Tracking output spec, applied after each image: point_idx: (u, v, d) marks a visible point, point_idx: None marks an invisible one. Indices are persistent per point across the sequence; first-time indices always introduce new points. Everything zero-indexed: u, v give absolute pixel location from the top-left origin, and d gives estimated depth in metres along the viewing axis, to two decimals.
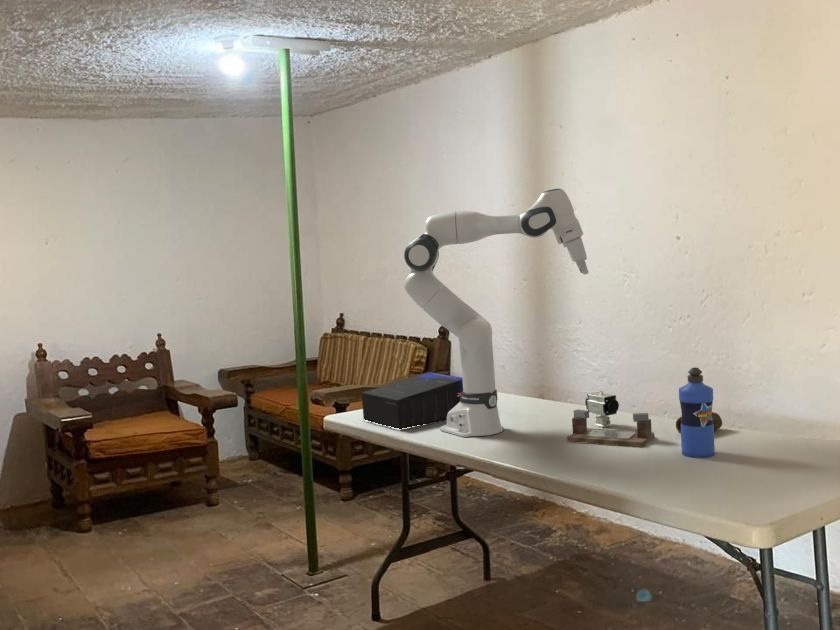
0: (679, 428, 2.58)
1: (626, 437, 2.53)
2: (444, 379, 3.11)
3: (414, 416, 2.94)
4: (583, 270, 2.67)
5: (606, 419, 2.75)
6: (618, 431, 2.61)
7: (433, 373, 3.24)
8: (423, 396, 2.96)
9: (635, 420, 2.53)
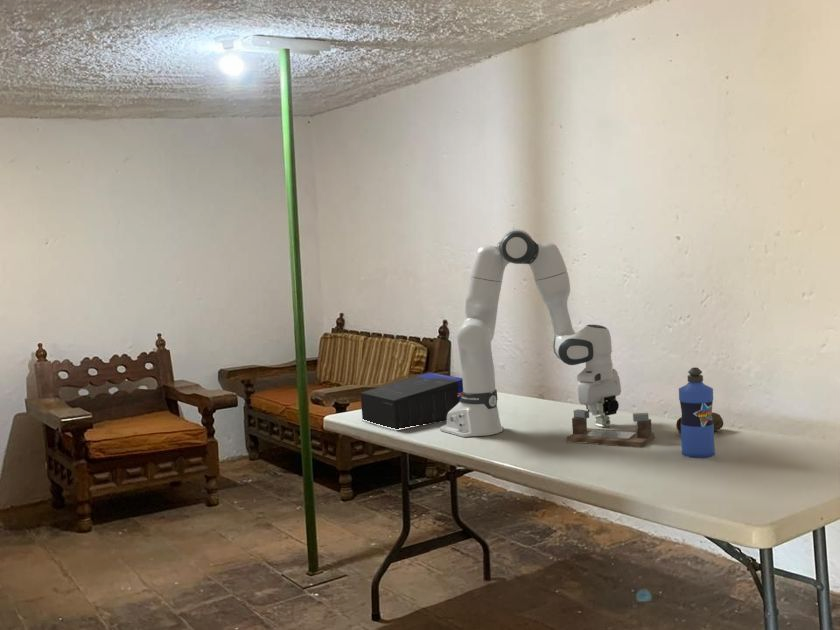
0: (680, 428, 2.57)
1: (626, 437, 2.53)
2: (443, 379, 3.10)
3: (412, 417, 2.94)
4: (592, 411, 2.74)
5: (606, 419, 2.75)
6: (618, 431, 2.61)
7: (433, 373, 3.23)
8: (420, 396, 2.96)
9: (635, 420, 2.53)
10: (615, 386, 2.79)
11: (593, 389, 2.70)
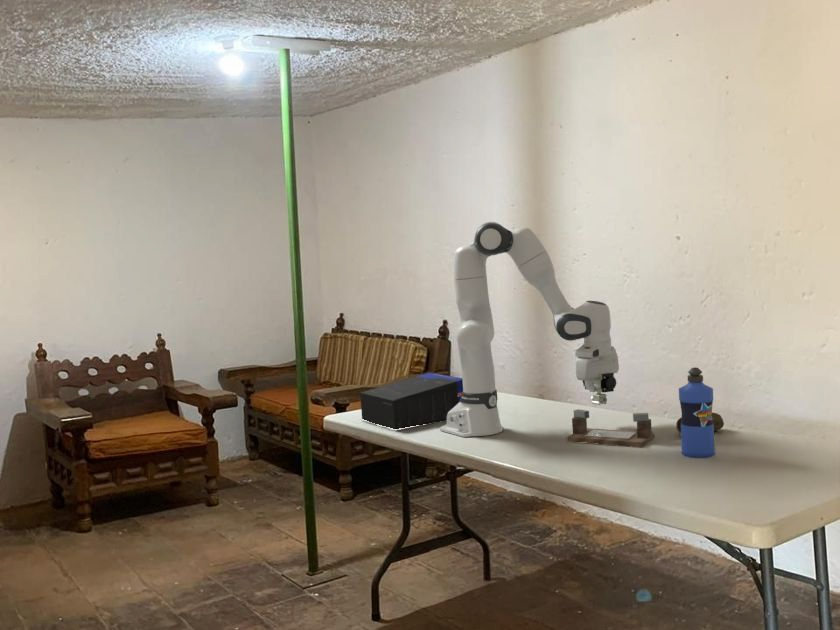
0: (680, 428, 2.57)
1: (626, 437, 2.53)
2: (443, 380, 3.10)
3: (411, 417, 2.94)
4: (590, 387, 2.73)
5: (603, 396, 2.74)
6: (618, 431, 2.61)
7: (433, 373, 3.23)
8: (420, 397, 2.96)
9: (635, 420, 2.53)
10: (613, 363, 2.78)
11: (591, 365, 2.69)
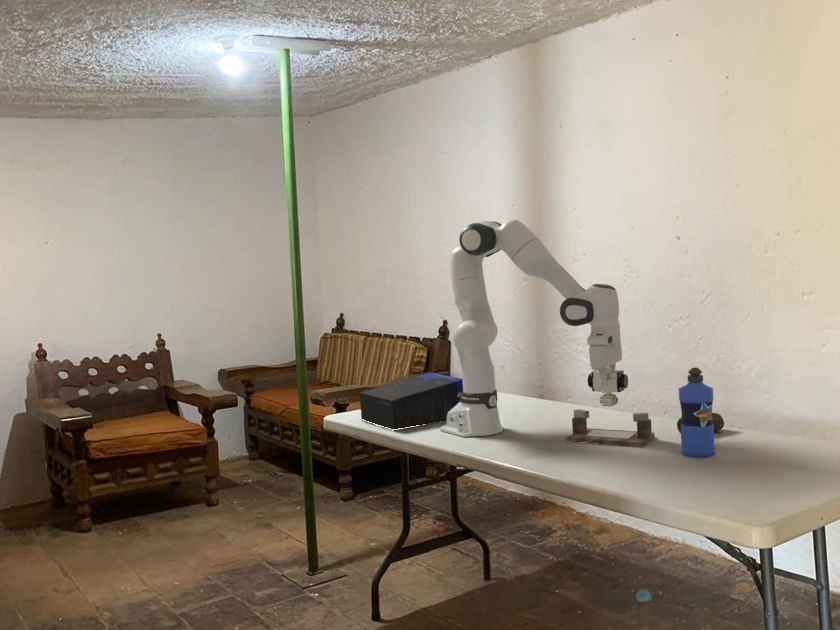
0: (680, 428, 2.57)
1: (626, 437, 2.53)
2: (442, 380, 3.10)
3: (410, 417, 2.94)
4: (602, 377, 2.54)
5: (615, 397, 2.57)
6: (618, 431, 2.61)
7: (433, 373, 3.23)
8: (419, 397, 2.95)
9: (635, 420, 2.53)
10: (618, 350, 2.61)
11: (605, 353, 2.51)
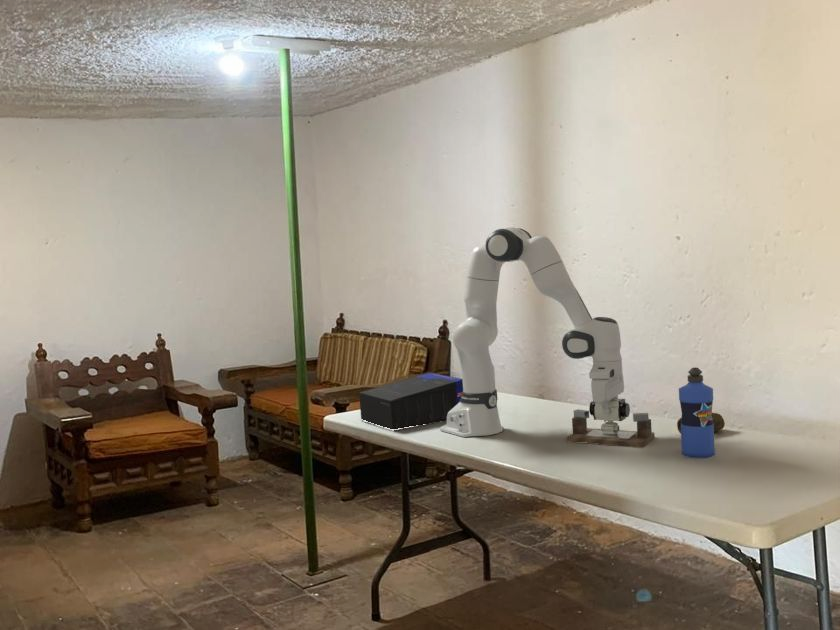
0: (680, 428, 2.57)
1: (626, 437, 2.53)
2: (442, 380, 3.09)
3: (408, 417, 2.94)
4: (604, 410, 2.55)
5: (616, 425, 2.58)
6: None
7: (433, 374, 3.23)
8: (418, 397, 2.95)
9: (635, 420, 2.53)
10: (620, 383, 2.62)
11: (607, 386, 2.51)
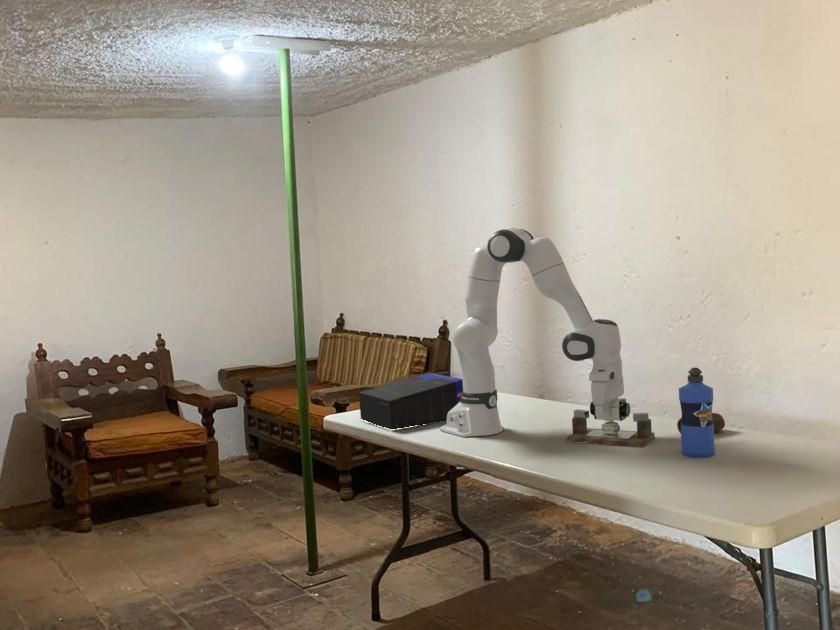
0: (680, 429, 2.57)
1: (626, 437, 2.53)
2: (441, 380, 3.09)
3: (408, 417, 2.94)
4: (604, 412, 2.55)
5: (617, 425, 2.58)
6: None
7: (433, 374, 3.22)
8: (417, 397, 2.95)
9: (635, 420, 2.53)
10: (620, 385, 2.62)
11: (606, 389, 2.51)
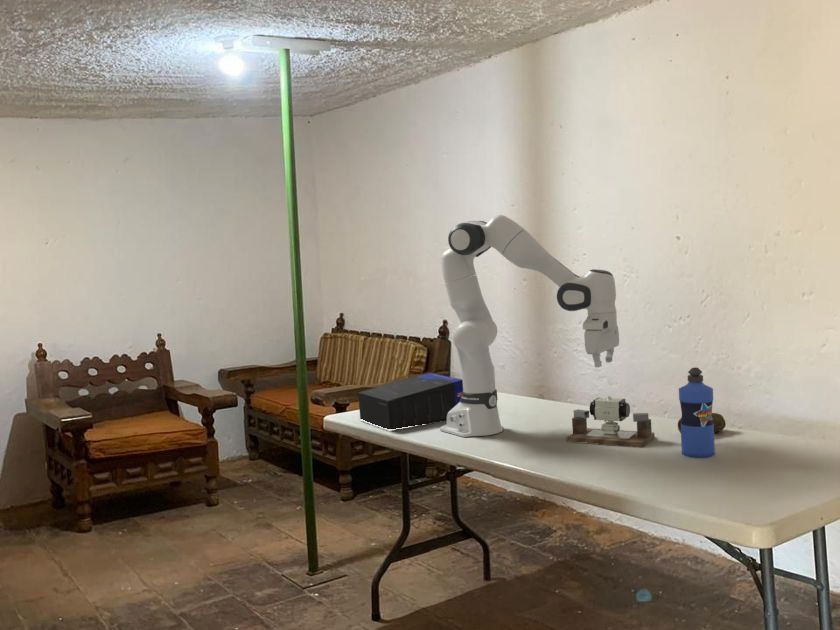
0: None
1: (626, 437, 2.53)
2: (441, 380, 3.09)
3: (406, 418, 2.93)
4: (595, 362, 2.55)
5: (616, 425, 2.58)
6: None
7: (433, 374, 3.22)
8: (415, 397, 2.95)
9: (635, 420, 2.53)
10: (615, 336, 2.63)
11: (600, 338, 2.52)
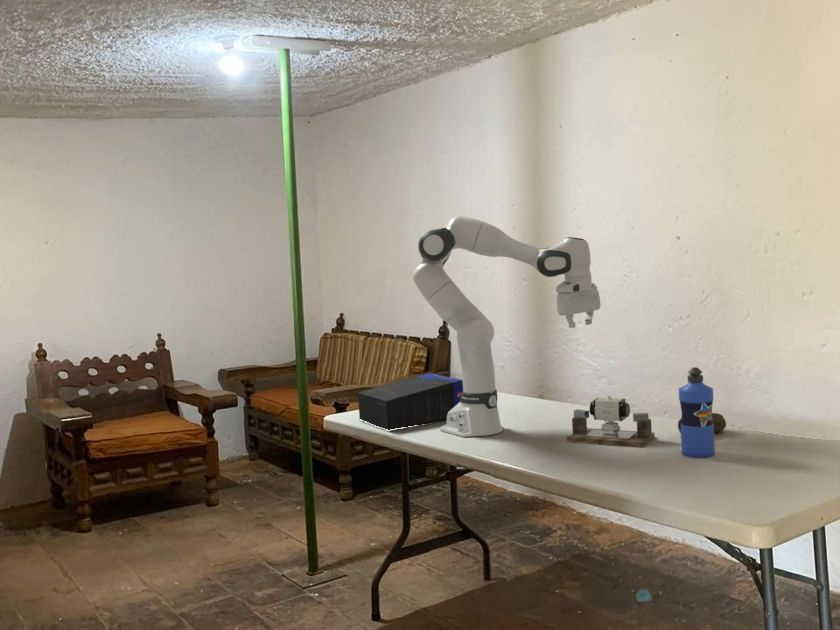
0: None
1: (626, 437, 2.53)
2: (440, 380, 3.08)
3: (405, 418, 2.93)
4: (569, 323, 2.74)
5: (616, 425, 2.58)
6: None
7: (433, 374, 3.22)
8: (414, 397, 2.95)
9: (635, 420, 2.53)
10: (594, 300, 2.80)
11: (572, 300, 2.71)
